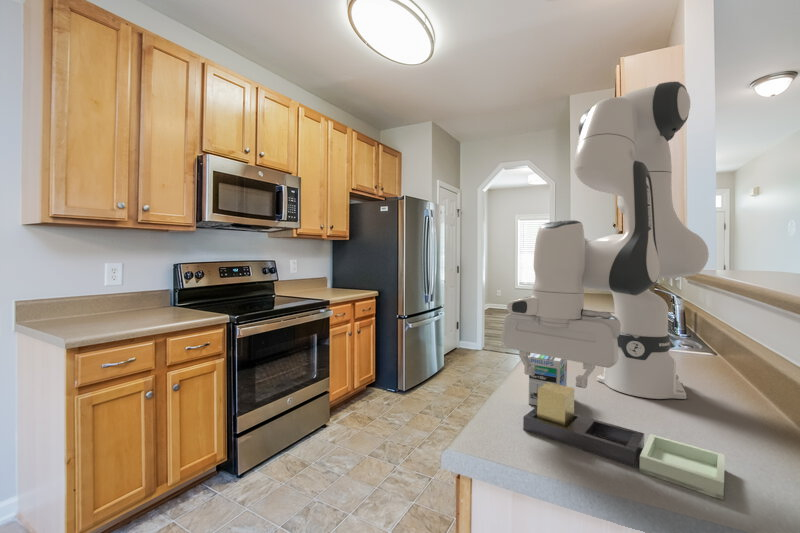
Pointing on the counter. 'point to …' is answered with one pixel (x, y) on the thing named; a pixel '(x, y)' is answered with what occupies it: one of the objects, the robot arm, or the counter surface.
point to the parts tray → (684, 465)
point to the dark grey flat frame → (591, 437)
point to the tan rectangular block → (556, 404)
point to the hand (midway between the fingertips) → (554, 380)
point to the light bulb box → (546, 374)
